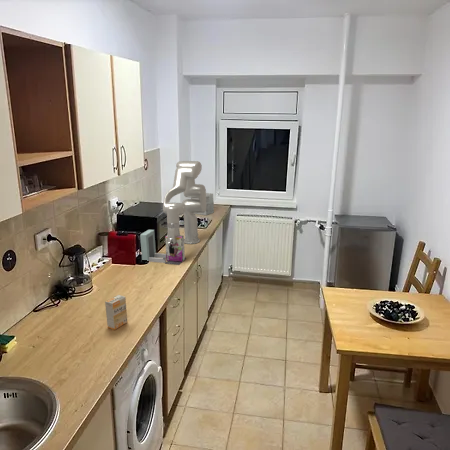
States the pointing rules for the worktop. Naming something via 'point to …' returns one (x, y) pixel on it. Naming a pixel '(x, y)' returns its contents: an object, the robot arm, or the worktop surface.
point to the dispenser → (150, 248)
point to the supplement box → (116, 312)
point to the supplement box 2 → (208, 204)
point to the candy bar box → (176, 250)
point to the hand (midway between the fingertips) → (174, 251)
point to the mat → (174, 262)
